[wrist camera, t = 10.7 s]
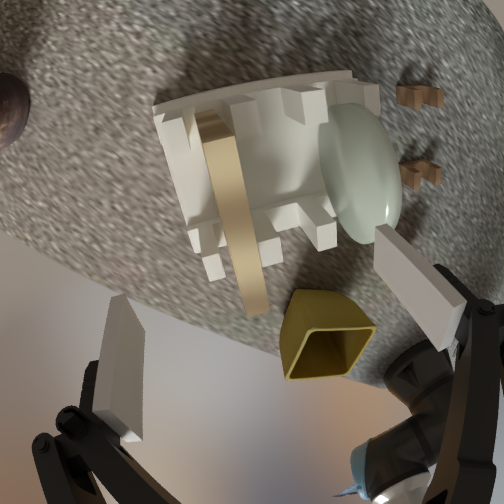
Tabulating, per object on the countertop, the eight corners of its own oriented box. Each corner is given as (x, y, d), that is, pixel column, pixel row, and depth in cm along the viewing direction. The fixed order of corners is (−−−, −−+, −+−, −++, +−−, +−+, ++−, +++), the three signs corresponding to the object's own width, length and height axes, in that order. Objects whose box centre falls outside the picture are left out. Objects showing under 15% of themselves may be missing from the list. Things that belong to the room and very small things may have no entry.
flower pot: (265, 328, 42) (284, 382, 35) (283, 275, 38) (309, 329, 30) (323, 327, 44) (348, 375, 37) (346, 278, 40) (379, 326, 33)
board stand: (424, 174, 34) (440, 183, 32) (398, 179, 34) (413, 190, 31) (424, 85, 28) (443, 89, 25) (396, 85, 28) (414, 89, 25)
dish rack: (355, 205, 34) (389, 237, 29) (195, 247, 33) (200, 291, 27) (345, 69, 26) (388, 74, 20) (153, 105, 25) (144, 116, 19)
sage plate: (336, 204, 31) (396, 266, 22) (323, 207, 31) (380, 272, 22) (326, 94, 25) (402, 118, 16) (312, 96, 25) (383, 119, 16)
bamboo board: (241, 232, 31) (270, 311, 22) (224, 237, 31) (247, 317, 22) (213, 109, 24) (234, 135, 15) (193, 113, 24) (202, 143, 15)
